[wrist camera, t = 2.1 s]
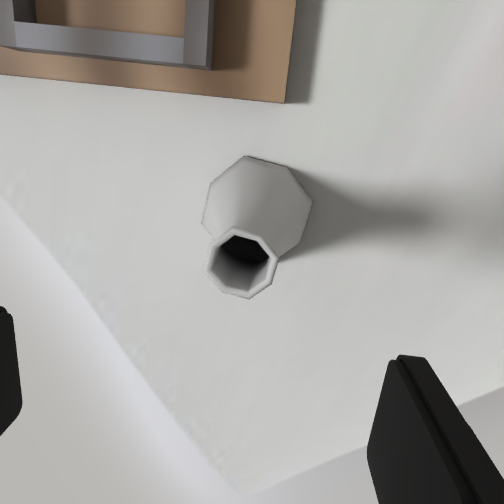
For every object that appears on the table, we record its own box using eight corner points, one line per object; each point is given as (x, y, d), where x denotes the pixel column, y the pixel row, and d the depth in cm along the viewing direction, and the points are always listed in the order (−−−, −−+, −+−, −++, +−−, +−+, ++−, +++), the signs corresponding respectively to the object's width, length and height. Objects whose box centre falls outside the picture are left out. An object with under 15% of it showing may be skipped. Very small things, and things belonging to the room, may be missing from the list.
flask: (271, 280, 28) (264, 364, 18) (184, 225, 27) (130, 284, 17) (332, 197, 25) (360, 244, 16) (239, 135, 24) (212, 145, 15)
